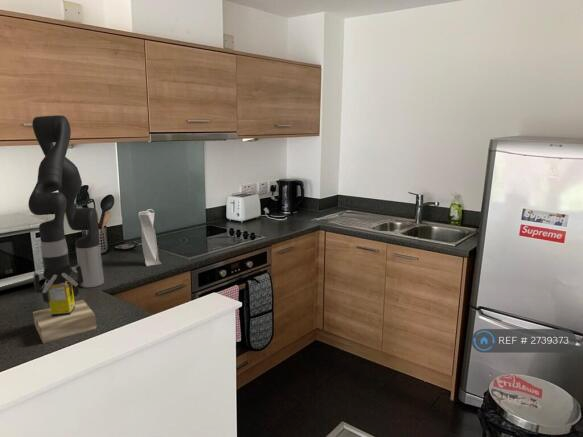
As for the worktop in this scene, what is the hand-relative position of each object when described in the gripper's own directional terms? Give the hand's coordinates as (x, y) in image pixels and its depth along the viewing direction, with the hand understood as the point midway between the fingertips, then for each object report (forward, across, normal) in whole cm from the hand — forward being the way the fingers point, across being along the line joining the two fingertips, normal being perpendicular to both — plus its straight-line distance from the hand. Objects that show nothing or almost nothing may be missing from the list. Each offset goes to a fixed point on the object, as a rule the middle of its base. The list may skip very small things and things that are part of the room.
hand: (61, 299), depth 146 cm
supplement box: (+5, 0, -1) cm, 5 cm away
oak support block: (+10, 0, 0) cm, 10 cm away
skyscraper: (+11, -48, -47) cm, 68 cm away
